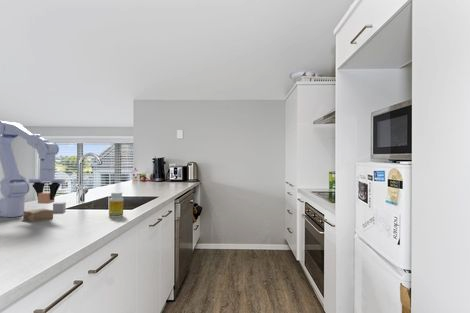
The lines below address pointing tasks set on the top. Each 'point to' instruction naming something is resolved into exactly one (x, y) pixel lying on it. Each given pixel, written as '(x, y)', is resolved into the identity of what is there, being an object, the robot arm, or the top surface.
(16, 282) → the top surface
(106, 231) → the top surface
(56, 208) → the grey cube
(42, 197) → the terracotta cube
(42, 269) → the top surface
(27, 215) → the walnut block
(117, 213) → the supplement bottle
